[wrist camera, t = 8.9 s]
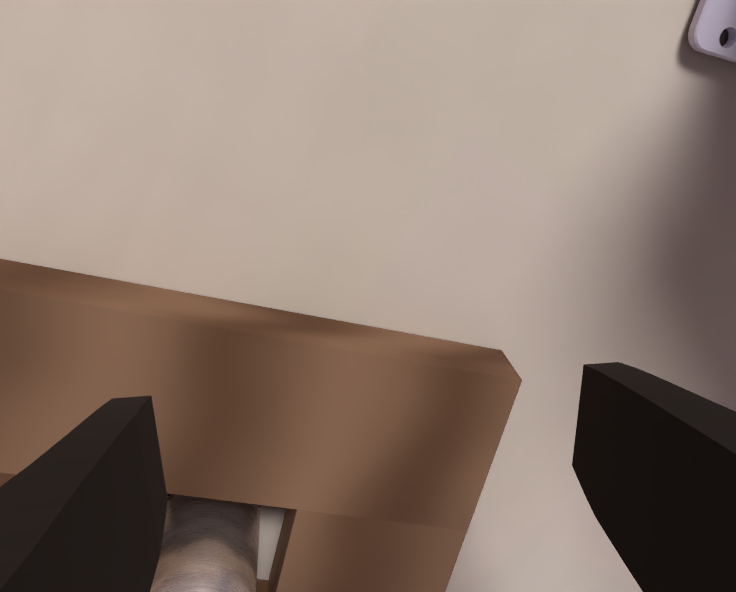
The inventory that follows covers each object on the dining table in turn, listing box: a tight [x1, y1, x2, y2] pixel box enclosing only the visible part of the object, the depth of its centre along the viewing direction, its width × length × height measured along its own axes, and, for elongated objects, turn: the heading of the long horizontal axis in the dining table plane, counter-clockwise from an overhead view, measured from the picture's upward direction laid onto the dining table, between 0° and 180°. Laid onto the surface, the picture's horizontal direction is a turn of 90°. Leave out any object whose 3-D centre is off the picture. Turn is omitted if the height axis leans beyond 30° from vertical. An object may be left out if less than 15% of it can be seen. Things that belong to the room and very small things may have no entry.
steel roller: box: [150, 494, 260, 592], centre depth 20 cm, size 3×3×6 cm
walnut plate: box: [0, 259, 522, 592], centre depth 22 cm, size 16×16×2 cm
